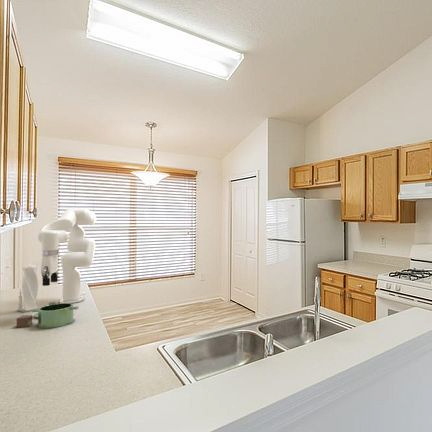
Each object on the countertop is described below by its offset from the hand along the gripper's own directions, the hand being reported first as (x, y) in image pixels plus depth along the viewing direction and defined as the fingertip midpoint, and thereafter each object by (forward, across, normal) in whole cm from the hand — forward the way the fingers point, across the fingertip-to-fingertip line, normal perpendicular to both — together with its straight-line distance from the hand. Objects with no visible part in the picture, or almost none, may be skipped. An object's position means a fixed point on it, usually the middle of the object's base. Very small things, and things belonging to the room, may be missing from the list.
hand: (50, 283), depth 178 cm
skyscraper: (+18, -16, -16) cm, 29 cm away
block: (+18, +16, -5) cm, 24 cm away
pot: (+18, +16, +9) cm, 25 cm away
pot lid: (+17, -1, 0) cm, 17 cm away
